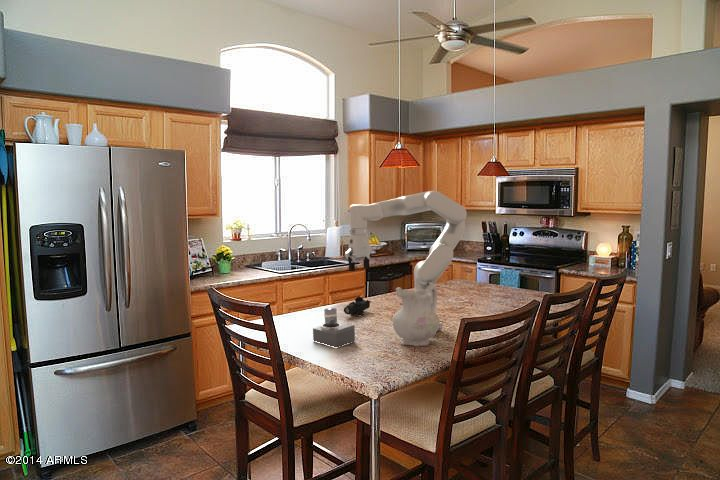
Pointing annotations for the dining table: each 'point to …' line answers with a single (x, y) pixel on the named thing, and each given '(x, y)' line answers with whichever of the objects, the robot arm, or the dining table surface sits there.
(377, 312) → the dining table surface
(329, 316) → the lens
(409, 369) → the dining table surface
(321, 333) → the grey ring-socket block
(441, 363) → the dining table surface
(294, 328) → the dining table surface
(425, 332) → the ceramic pitcher
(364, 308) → the night vision scope
